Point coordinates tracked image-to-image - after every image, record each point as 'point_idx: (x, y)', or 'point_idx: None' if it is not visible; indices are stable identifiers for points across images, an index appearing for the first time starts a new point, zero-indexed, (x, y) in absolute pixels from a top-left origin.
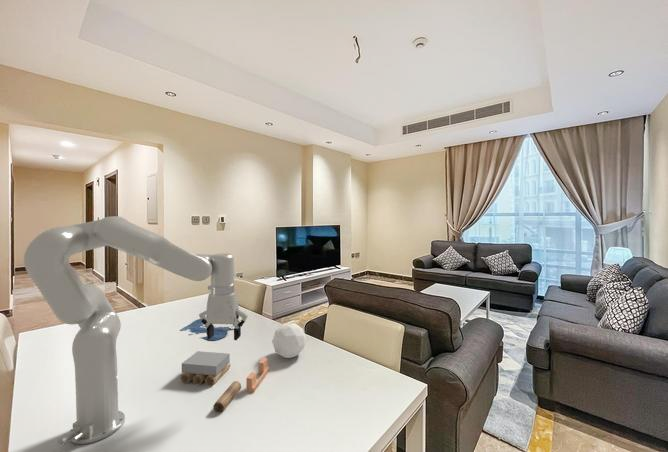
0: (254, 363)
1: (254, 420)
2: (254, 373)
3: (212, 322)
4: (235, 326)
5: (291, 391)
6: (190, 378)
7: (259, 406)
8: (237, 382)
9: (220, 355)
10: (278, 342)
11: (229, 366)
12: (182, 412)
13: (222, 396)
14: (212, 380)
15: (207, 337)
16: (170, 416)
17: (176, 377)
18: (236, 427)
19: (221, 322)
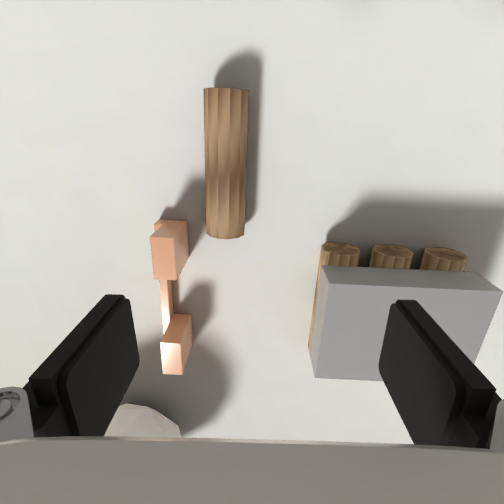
0: (237, 373)
1: (75, 63)
2: (158, 273)
3: (453, 469)
4: (7, 420)
5: (37, 240)
6: (424, 259)
7: (100, 146)
8: (216, 232)
9: (348, 362)
10: None
11: (308, 342)
12: (366, 72)
13: (228, 131)
14: (329, 249)
15: (419, 305)
16: (403, 40)
17: (484, 276)
18: (118, 11)
19: (200, 472)
